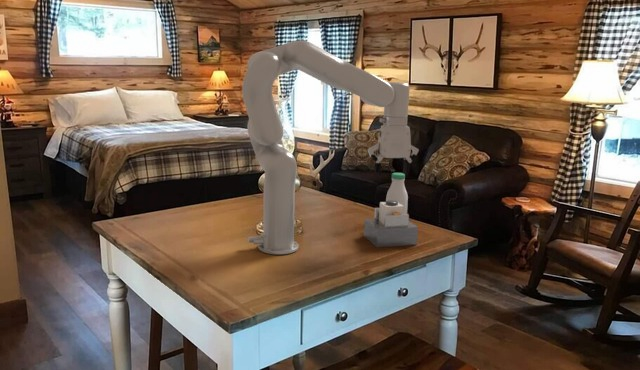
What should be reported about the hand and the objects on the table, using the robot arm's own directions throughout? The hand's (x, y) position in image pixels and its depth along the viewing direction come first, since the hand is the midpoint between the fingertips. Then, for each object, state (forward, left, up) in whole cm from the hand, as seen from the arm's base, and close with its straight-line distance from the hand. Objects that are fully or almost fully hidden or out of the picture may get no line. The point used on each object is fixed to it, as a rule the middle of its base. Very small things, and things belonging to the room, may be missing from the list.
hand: (391, 174), depth 179 cm
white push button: (0, 0, -16) cm, 16 cm away
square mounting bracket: (+1, 0, -22) cm, 22 cm away
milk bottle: (+8, +12, -23) cm, 27 cm away
